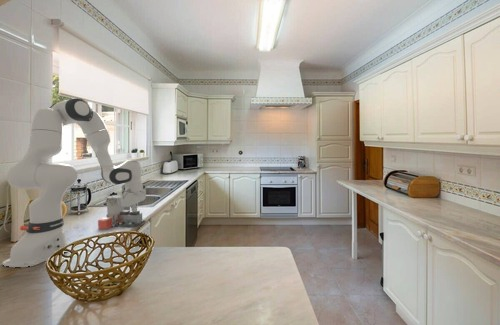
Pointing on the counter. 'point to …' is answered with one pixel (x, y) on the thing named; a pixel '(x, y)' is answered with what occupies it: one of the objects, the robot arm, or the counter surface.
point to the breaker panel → (129, 220)
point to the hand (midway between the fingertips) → (134, 211)
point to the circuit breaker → (114, 207)
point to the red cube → (104, 223)
